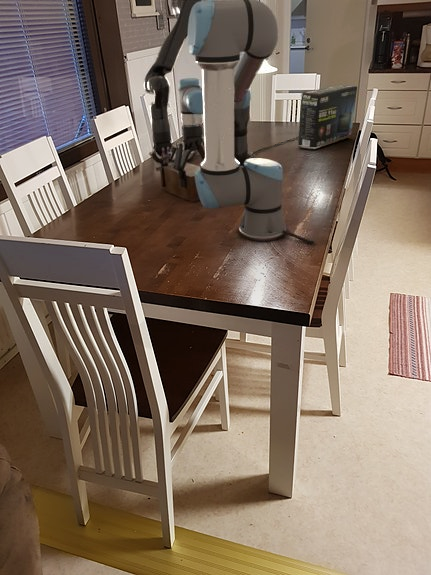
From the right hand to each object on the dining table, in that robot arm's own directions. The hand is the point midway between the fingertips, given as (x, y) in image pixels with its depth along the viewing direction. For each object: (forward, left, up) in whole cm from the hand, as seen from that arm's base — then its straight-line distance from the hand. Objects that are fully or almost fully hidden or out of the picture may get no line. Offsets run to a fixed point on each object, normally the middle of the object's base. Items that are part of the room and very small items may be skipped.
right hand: (195, 183), depth 179 cm
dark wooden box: (+4, -1, -5) cm, 7 cm away
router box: (-20, -98, -5) cm, 101 cm away
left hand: (+19, -7, 0) cm, 20 cm away
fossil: (+37, -43, -5) cm, 57 cm away
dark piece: (+11, -4, -4) cm, 13 cm away
